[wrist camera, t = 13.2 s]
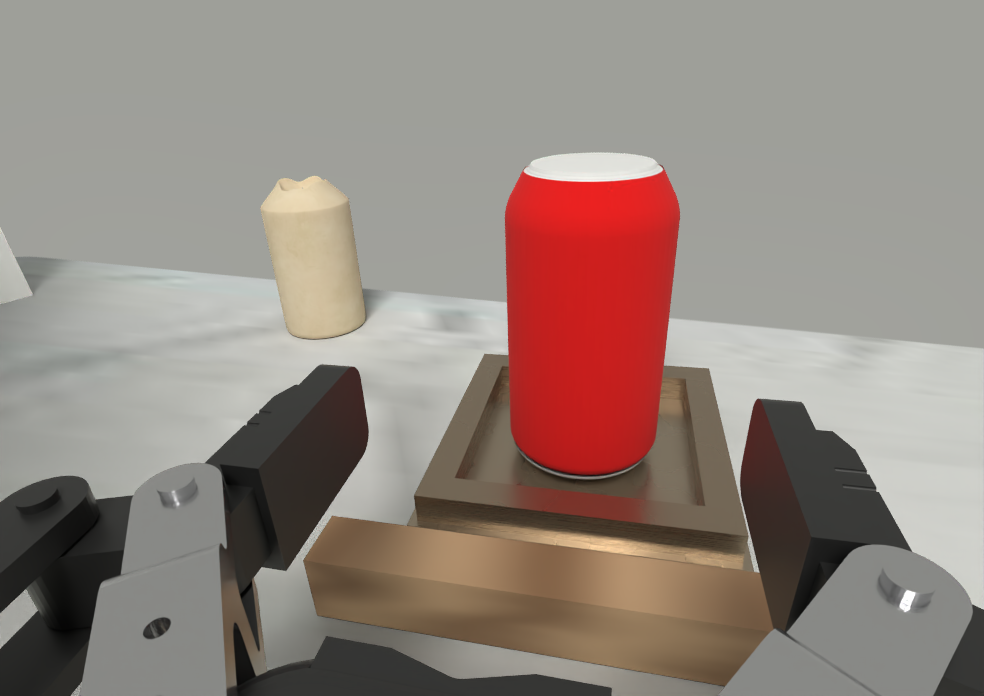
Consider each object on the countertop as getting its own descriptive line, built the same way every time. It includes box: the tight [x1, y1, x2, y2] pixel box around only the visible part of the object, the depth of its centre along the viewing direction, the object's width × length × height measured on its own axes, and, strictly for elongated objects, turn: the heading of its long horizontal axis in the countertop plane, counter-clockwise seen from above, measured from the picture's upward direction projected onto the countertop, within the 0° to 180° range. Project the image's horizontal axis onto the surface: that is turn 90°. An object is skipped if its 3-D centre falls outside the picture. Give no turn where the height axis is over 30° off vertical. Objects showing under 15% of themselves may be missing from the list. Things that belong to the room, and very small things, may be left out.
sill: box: [303, 516, 774, 686], centre depth 18 cm, size 14×2×2 cm, turn 78°
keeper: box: [407, 354, 754, 572], centre depth 25 cm, size 12×12×2 cm
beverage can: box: [505, 153, 680, 480], centre depth 23 cm, size 6×6×12 cm
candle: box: [261, 176, 366, 339], centre depth 39 cm, size 6×6×10 cm
